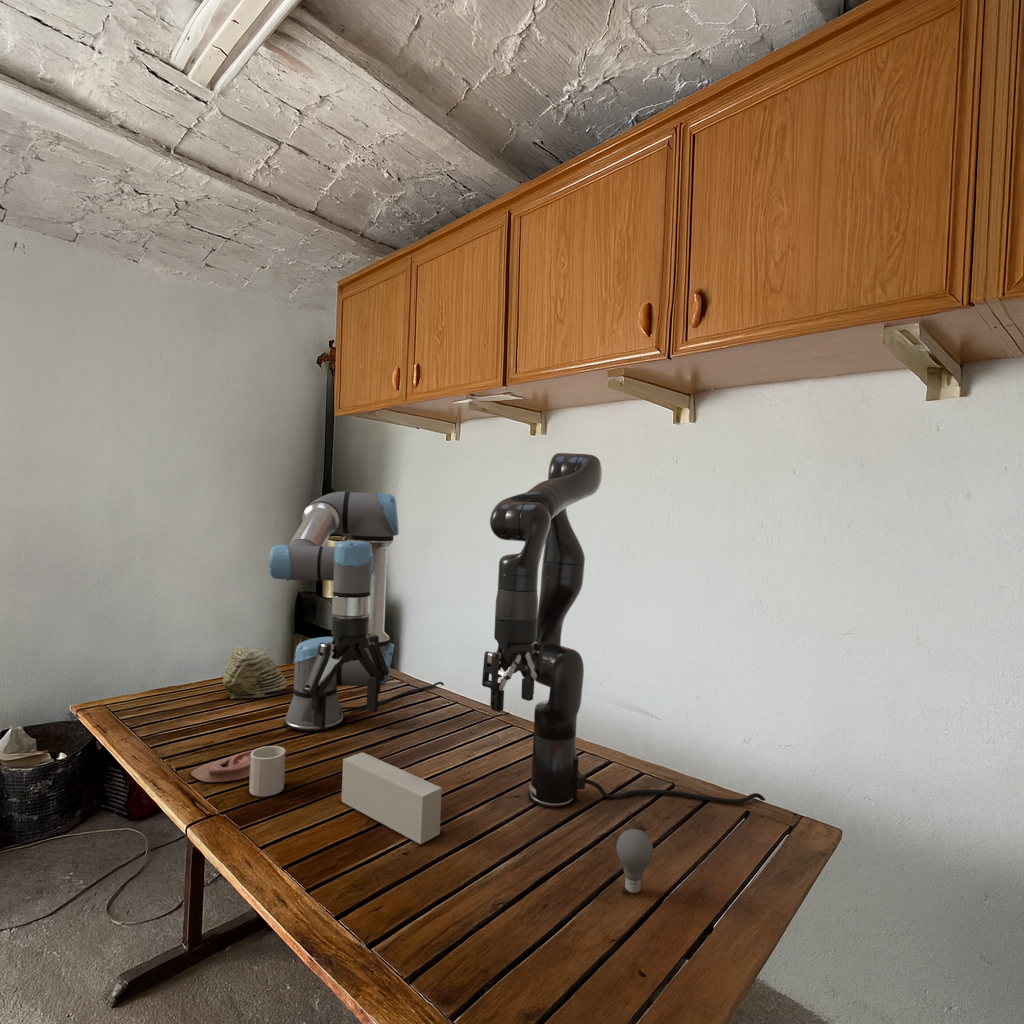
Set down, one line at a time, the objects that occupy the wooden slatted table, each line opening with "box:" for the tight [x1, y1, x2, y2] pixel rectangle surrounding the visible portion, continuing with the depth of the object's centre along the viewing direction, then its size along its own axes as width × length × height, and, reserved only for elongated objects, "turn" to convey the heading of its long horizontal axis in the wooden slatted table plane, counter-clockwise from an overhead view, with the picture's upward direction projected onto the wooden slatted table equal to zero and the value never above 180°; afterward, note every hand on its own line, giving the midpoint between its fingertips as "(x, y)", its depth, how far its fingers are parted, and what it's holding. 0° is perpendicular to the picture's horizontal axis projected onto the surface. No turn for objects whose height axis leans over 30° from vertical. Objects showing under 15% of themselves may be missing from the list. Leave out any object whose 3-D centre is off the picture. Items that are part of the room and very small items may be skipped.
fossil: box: [222, 646, 288, 699], centre depth 198 cm, size 9×18×15 cm, turn 132°
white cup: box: [248, 745, 287, 797], centre depth 136 cm, size 7×7×8 cm
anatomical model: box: [190, 749, 254, 783], centre depth 143 cm, size 13×4×12 cm
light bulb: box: [615, 828, 654, 894], centre depth 106 cm, size 6×6×10 cm
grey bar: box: [341, 751, 443, 845], centre depth 126 cm, size 24×5×9 cm, turn 51°
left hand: (346, 718), depth 131 cm, fingers open, 13 cm apart
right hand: (512, 705), depth 112 cm, fingers open, 8 cm apart
